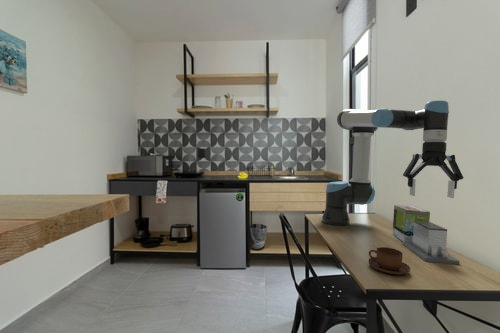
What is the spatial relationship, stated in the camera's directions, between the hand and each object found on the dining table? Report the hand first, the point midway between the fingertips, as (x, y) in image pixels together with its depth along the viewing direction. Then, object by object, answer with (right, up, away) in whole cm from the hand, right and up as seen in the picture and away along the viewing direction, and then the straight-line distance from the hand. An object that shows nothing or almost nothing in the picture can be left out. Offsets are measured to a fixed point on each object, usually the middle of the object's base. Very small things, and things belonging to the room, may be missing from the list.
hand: (431, 196), depth 100 cm
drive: (-1, -21, 0) cm, 21 cm away
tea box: (+3, -22, +19) cm, 29 cm away
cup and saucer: (-25, -22, -16) cm, 38 cm away
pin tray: (-1, -22, 0) cm, 22 cm away
